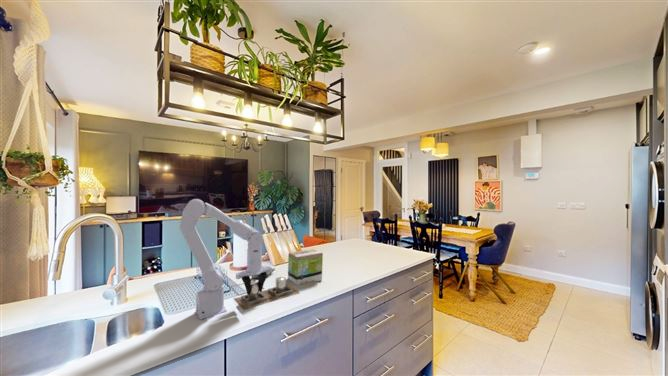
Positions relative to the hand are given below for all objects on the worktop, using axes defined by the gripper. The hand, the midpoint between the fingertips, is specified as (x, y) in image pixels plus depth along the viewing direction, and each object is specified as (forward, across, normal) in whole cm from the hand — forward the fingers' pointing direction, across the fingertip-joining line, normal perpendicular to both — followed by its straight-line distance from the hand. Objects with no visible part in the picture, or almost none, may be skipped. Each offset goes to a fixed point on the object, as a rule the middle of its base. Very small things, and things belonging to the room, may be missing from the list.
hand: (254, 292), depth 105 cm
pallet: (+4, +6, 0) cm, 8 cm away
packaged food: (+5, +16, +27) cm, 31 cm away
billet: (+3, +12, 0) cm, 12 cm away
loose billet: (+2, 0, +1) cm, 3 cm away
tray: (+4, +2, +14) cm, 15 cm away
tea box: (+5, +30, +8) cm, 31 cm away
